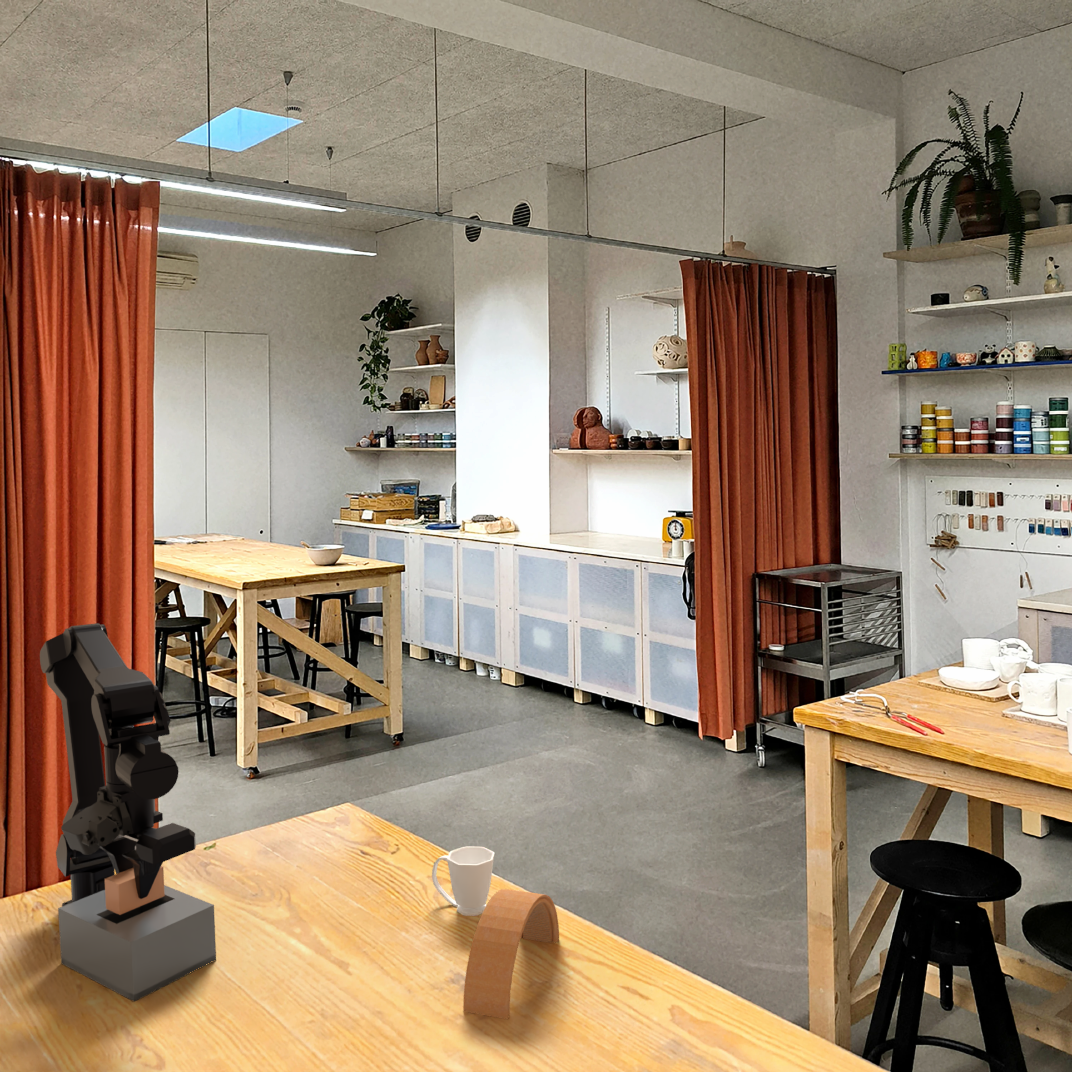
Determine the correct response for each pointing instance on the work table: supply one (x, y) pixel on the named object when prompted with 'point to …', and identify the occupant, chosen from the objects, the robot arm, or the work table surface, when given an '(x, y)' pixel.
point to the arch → (504, 947)
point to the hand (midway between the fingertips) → (135, 894)
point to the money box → (137, 941)
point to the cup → (467, 878)
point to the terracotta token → (130, 891)
